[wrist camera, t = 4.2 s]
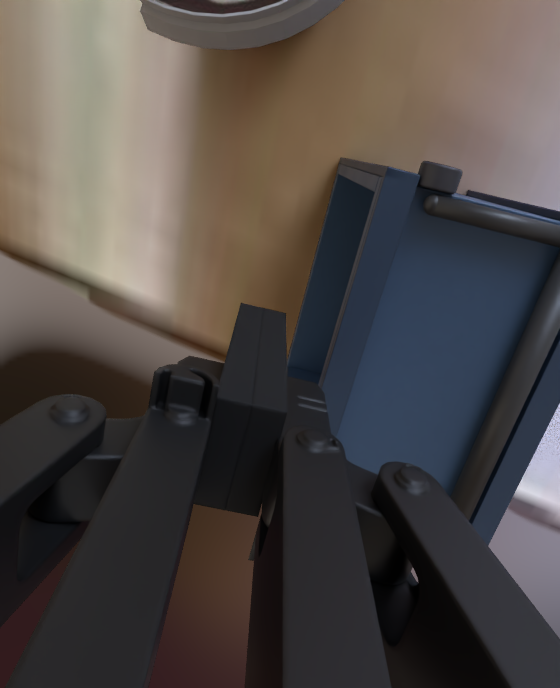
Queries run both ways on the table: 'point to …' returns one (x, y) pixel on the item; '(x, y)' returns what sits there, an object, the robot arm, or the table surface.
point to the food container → (232, 20)
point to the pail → (434, 329)
